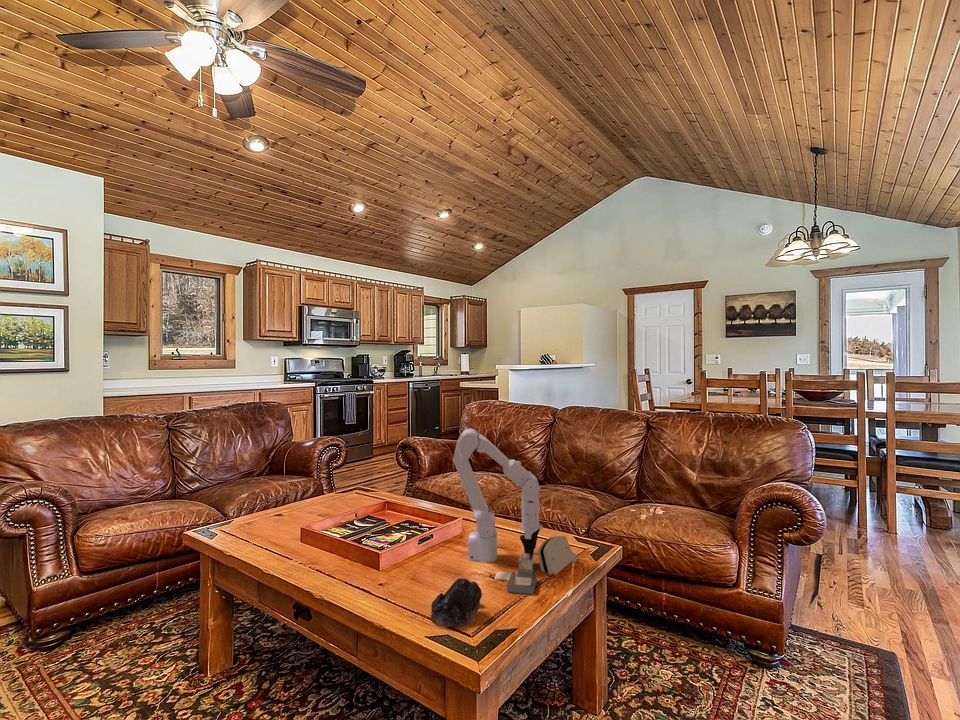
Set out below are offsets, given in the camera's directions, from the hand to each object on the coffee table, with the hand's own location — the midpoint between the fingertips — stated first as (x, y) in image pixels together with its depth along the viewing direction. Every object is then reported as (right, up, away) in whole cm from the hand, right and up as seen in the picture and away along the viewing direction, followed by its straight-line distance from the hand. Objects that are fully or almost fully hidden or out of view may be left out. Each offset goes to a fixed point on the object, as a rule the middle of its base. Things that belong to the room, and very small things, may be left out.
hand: (530, 552), depth 163 cm
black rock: (-24, -4, -34) cm, 41 cm away
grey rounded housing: (+8, -3, -4) cm, 9 cm away
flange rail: (-3, -3, -15) cm, 15 cm away
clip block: (-3, -1, -11) cm, 11 cm away
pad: (-10, -3, -13) cm, 17 cm away
